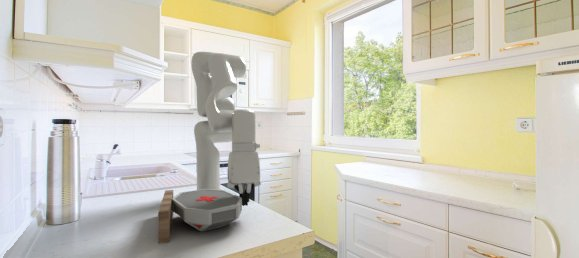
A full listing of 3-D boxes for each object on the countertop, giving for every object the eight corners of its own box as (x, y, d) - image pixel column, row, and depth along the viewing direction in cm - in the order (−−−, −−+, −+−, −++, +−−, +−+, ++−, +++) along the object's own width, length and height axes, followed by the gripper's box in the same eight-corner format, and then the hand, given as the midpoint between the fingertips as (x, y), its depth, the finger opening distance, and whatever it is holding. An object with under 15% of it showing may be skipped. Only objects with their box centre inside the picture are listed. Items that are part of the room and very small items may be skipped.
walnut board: (165, 214, 98) (165, 190, 98) (173, 213, 99) (173, 189, 99) (158, 243, 75) (158, 212, 74) (169, 241, 76) (168, 211, 75)
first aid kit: (166, 217, 95) (192, 242, 75) (166, 194, 95) (192, 214, 75) (217, 207, 105) (252, 227, 86) (217, 187, 105) (251, 202, 85)
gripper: (263, 146, 100) (263, 199, 100) (218, 148, 95) (219, 204, 95) (269, 148, 93) (269, 205, 93) (221, 149, 88) (222, 210, 88)
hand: (244, 204), depth 94 cm, fingers closed
